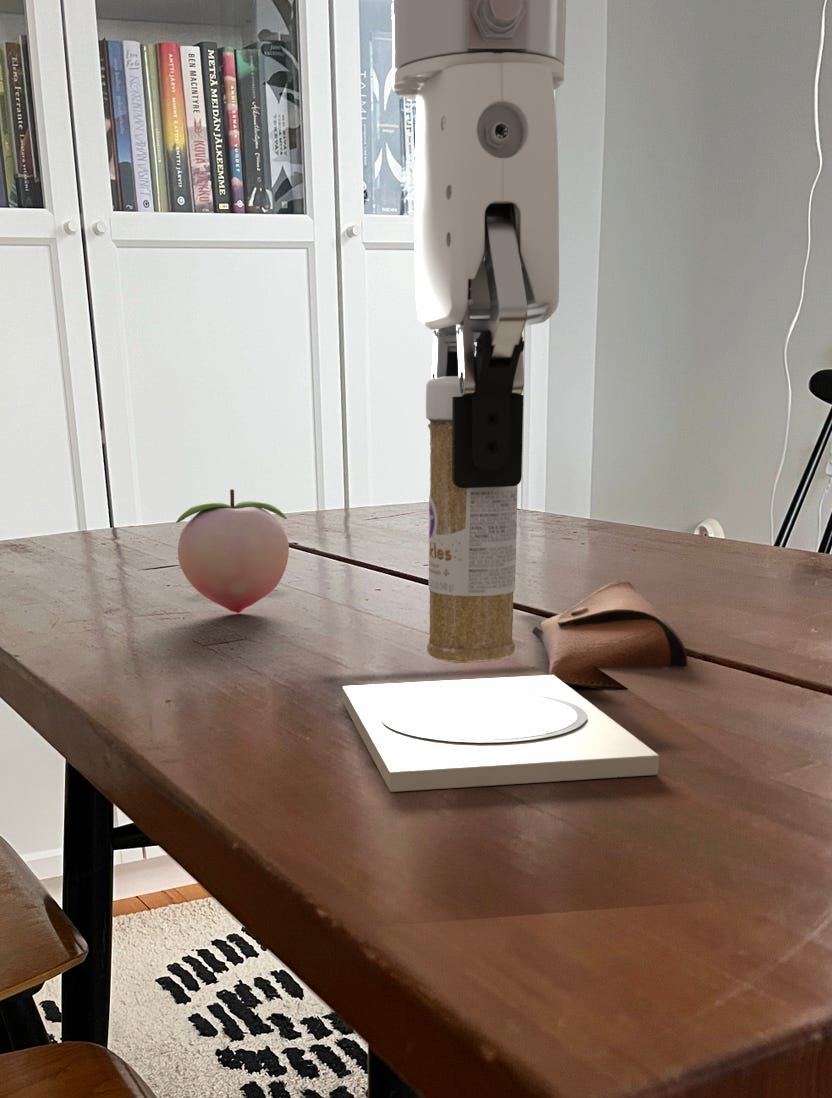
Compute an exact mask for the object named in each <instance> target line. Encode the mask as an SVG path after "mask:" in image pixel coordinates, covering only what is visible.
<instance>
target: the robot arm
mask: <svg viewBox="0 0 832 1098" xmlns="http://www.w3.org/2000/svg"><path fill="white" fill-rule="evenodd" d="M391 1H392V3H391V20H392V21H391V25H392V26H391V29H392V42H391V43H392V91H393V93H395V94H396V95H397V96H399V97H401V98H404V99H407V100H411V101H416V112H415V113H416V115H415V117H416V118H415V147H414V149H413V150H414V157H415V159H414V160H415V161H414V162H415V163H414V164H415V165H414V280H415V283H414V284H415V301H416V311H417V313H416V314H417V318H418V320H419V322H420V323H422V325H423V326H425V327H426V328H427V329H429V330H432V331H433V337H432V338H433V341H432V342H433V343H432V361H431V362H432V364H431V365H432V366H431V379H432V378H440V377H447V376H459V389H460V395H461V397H452V481H453V483H454V485H455V486H457V487H459V488H479V487H507V486H516V485H517V486H518V485H520V483H521V482H522V478H523V442H524V441H523V439H524V438H523V437H524V436H523V435H524V434H523V433H524V397H525V396H524V394H523V391H524V387H525V369H524V349H525V340H524V337H523V332H524V329H525V327H528V326H532V325H533V326H534V325H538V324H542V323H544V322H546V321H547V320H548V319H550V318H551V316H553V315H554V313H555V312H556V310H557V308H558V305H559V302H560V205H559V204H560V201H559V199H560V197H559V195H560V193H559V189H560V188H559V148H558V127H557V112H556V110H557V109H556V98H555V90H556V89H558V88H560V87H561V86H563V84H564V82H565V59H566V58H565V57H566V28H567V27H566V24H567V20H566V19H567V0H391ZM475 343H476V344H475ZM521 394H522V395H521Z"/></svg>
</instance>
